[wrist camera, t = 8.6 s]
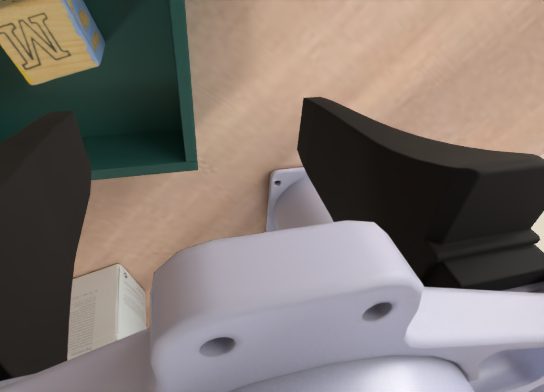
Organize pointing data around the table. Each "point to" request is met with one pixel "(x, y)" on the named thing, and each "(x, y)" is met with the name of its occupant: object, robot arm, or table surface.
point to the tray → (120, 92)
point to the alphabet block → (49, 38)
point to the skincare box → (104, 309)
